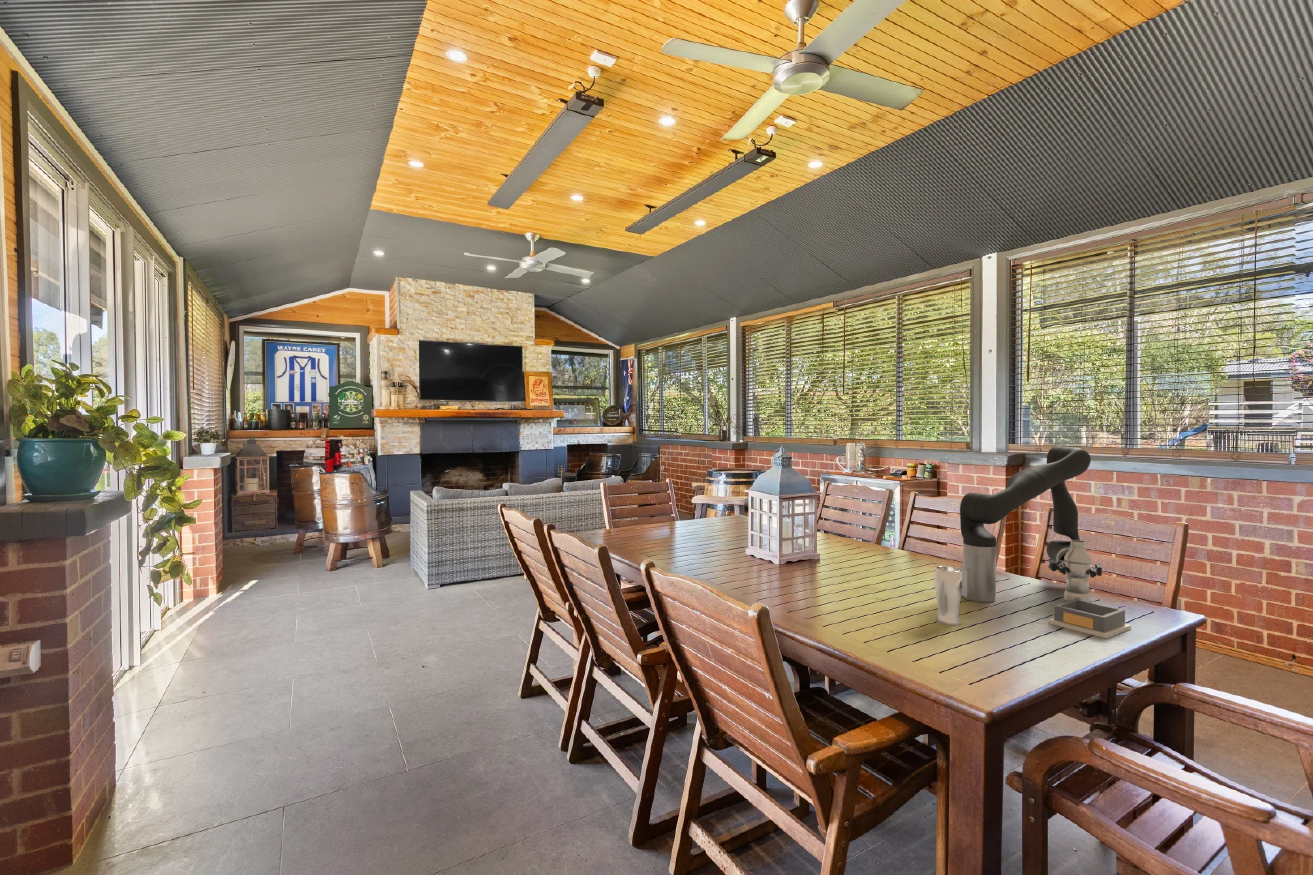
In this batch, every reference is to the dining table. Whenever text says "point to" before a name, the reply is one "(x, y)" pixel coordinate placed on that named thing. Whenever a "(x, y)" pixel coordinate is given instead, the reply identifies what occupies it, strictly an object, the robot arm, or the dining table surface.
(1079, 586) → the plastic bottle
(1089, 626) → the labelled socket
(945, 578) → the beer glass
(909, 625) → the dining table surface
